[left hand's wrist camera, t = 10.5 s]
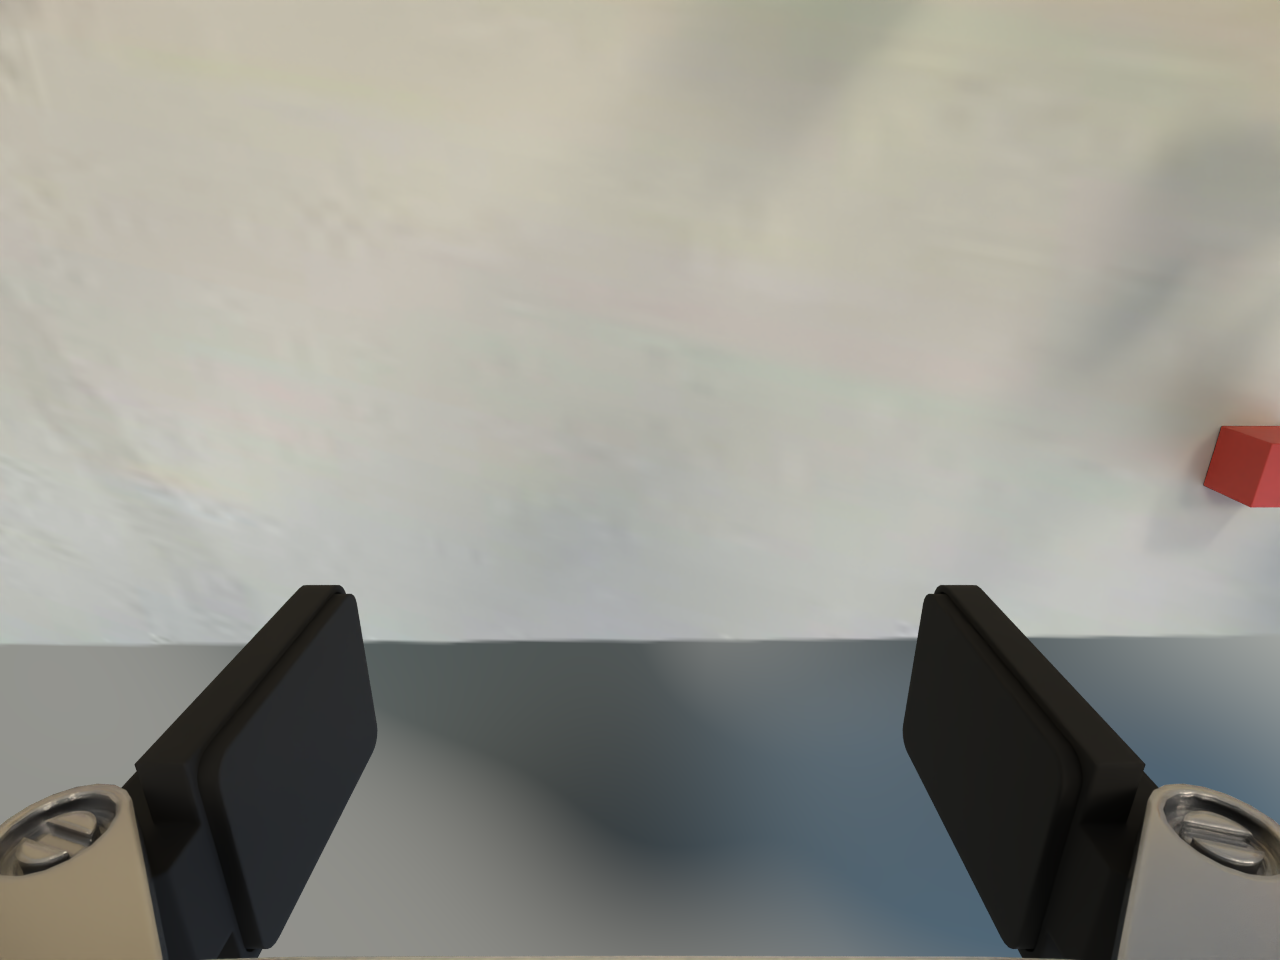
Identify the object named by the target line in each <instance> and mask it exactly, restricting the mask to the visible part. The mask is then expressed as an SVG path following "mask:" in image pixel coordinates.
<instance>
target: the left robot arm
mask: <svg viewBox="0 0 1280 960" xmlns="http://www.w3.org/2000/svg"><path fill="white" fill-rule="evenodd" d="M376 739H377V723H376V717H375V711H374V705H373V699H372V693H371V687H370V681H369V675H368V669H367V662H366V656H365V650H364V644H363V638H362V632H361V626H360V620H359V614H358V608H357V603H356V599H355V597H354V595H352V594H346V593H345V590H344V589H343V587H341V586H340V585H303V586H302V587H301V588H299V589H298V590H297V591H296V592H295V594H294V595H293V596H292V597H291V598H290V599H289V600H288V601H287V602H286V603H285V604H284V605H283V606H282V607H281V608H280V610H279V611H278V612H277V613H276V614H275V615H274V616H273V617H272V618H271V619H270V620H269V621H268V622H267V623H266V624H265V626H264V627H263V628H262V629H261V630H260V631H259V632H258V633H257V634H256V635H255V636H254V637H253V638H252V639H251V641H250V642H249V643H248V644H247V645H246V646H245V647H244V648H243V649H242V650H241V651H240V652H239V653H238V654H237V655H236V657H235V658H234V659H233V660H232V661H231V662H230V663H229V664H228V665H227V666H226V667H225V668H224V669H223V670H222V671H221V673H220V674H219V675H218V676H217V677H216V678H215V679H214V680H213V681H212V682H211V683H210V684H209V685H208V686H207V688H206V689H205V690H204V691H203V692H202V693H201V694H200V695H199V696H198V697H197V698H196V699H195V700H194V701H193V703H192V704H191V705H190V706H189V707H188V708H187V709H186V710H185V711H184V712H183V713H182V714H181V715H180V716H179V717H178V718H177V720H176V721H175V722H174V723H173V724H172V725H171V726H170V727H169V728H168V729H167V730H166V731H165V732H164V733H163V735H162V736H161V737H160V738H159V739H158V740H157V741H156V742H155V743H154V744H153V745H152V746H151V747H150V748H149V749H148V751H147V752H146V753H145V754H144V755H143V756H142V757H141V758H140V759H139V760H138V761H137V762H136V763H135V767H136V770H137V771H136V773H135V774H134V775H133V776H132V777H131V778H130V779H129V780H128V781H127V782H126V783H125V785H124V786H123V787H122V788H120V787H118V786H116V785H109V784H93V785H86V786H80V787H75V788H72V789H68V790H65V791H62V792H59V793H56V794H53V795H51V796H49V797H47V798H44V799H42V800H40V801H38V802H36V803H34V804H32V805H30V806H28V807H26V808H25V809H23V810H22V811H20V812H18V813H17V814H15V815H14V816H12V817H10V818H9V819H7V820H6V821H5V822H4V823H3V824H1V825H0V960H1280V825H1279V824H1277V823H1276V822H1275V821H1274V820H1273V819H1271V818H1270V817H1268V816H1266V815H1265V814H1263V813H1262V812H1260V811H1258V810H1257V809H1255V808H1254V807H1252V806H1251V805H1248V804H1246V803H1244V802H1242V801H1240V800H1238V799H1236V798H1233V797H1231V796H1229V795H1227V794H1224V793H1221V792H1218V791H1215V790H1212V789H1208V788H1205V787H1201V786H1194V785H1188V784H1171V785H1164V786H1162V787H1160V788H1158V787H1157V786H1156V784H1155V783H1154V782H1153V781H1152V780H1151V779H1150V778H1149V777H1148V776H1147V775H1146V774H1145V773H1144V771H1143V770H1144V767H1145V763H1144V762H1143V761H1142V760H1141V759H1140V758H1139V757H1138V756H1137V755H1136V754H1135V753H1134V752H1133V751H1132V749H1131V748H1130V747H1129V746H1128V745H1127V744H1126V743H1125V742H1124V741H1123V740H1122V739H1121V738H1120V737H1119V736H1118V735H1117V733H1116V732H1115V731H1114V730H1113V729H1112V728H1111V727H1110V726H1109V725H1108V724H1107V723H1106V722H1105V721H1104V720H1103V718H1102V717H1101V716H1100V715H1099V714H1098V713H1097V712H1096V711H1095V710H1094V709H1093V708H1092V707H1091V706H1090V705H1089V704H1088V702H1087V701H1086V700H1085V699H1084V698H1083V697H1082V696H1081V695H1080V694H1079V693H1078V692H1077V691H1076V690H1075V689H1074V688H1073V686H1072V685H1071V684H1070V683H1069V682H1068V681H1067V680H1066V679H1065V678H1064V677H1063V676H1062V675H1061V674H1060V673H1059V672H1058V670H1057V669H1056V668H1055V667H1054V666H1053V665H1052V664H1051V663H1050V662H1049V661H1048V660H1047V659H1046V658H1045V657H1044V656H1043V654H1042V653H1041V652H1040V651H1039V650H1038V649H1037V648H1036V647H1035V646H1034V645H1033V644H1032V643H1031V642H1030V641H1029V639H1028V638H1027V637H1026V636H1025V635H1024V634H1023V633H1022V632H1021V631H1020V630H1019V629H1018V628H1017V627H1016V626H1015V624H1014V623H1013V622H1012V621H1011V620H1010V619H1009V618H1008V617H1007V616H1006V615H1005V614H1004V613H1003V612H1002V611H1001V610H1000V608H999V607H998V606H997V605H996V604H995V603H994V602H993V601H992V600H991V599H990V598H989V597H988V596H987V595H986V594H985V592H984V591H983V590H982V589H981V588H979V587H978V586H977V585H940V586H939V587H937V589H936V590H935V593H934V594H928V595H926V597H925V599H924V603H923V608H922V614H921V620H920V626H919V632H918V638H917V644H916V650H915V656H914V663H913V669H912V675H911V681H910V687H909V693H908V699H907V705H906V711H905V717H904V723H903V739H904V744H905V748H906V750H907V753H908V755H909V757H910V758H911V761H912V763H913V764H914V766H915V768H916V770H917V772H918V774H919V776H920V778H921V780H922V782H923V784H924V786H925V788H926V790H927V792H928V794H929V796H930V798H931V800H932V802H933V804H934V806H935V808H936V810H937V812H938V814H939V816H940V818H941V820H942V822H943V824H944V826H945V828H946V830H947V832H948V833H949V836H950V837H951V839H952V841H953V843H954V845H955V847H956V849H957V851H958V853H959V855H960V857H961V859H962V861H963V863H964V865H965V867H966V869H967V871H968V873H969V875H970V877H971V879H972V881H973V883H974V885H975V887H976V889H977V891H978V893H979V895H980V897H981V899H982V901H983V903H984V905H985V907H986V909H987V911H988V912H989V914H990V916H991V918H992V920H993V922H994V924H995V926H996V928H997V930H998V932H999V934H1000V936H1001V938H1002V940H1003V941H1004V943H1005V944H1006V945H1007V946H1008V947H1009V948H1012V949H1018V950H1019V952H1020V954H1021V956H1022V958H1006V957H872V956H867V957H866V956H416V957H415V956H410V957H409V956H408V957H406V956H405V957H273V958H258V956H259V954H260V952H261V950H262V949H268V948H271V947H272V946H273V945H274V944H275V943H276V941H277V940H278V938H279V936H280V934H281V932H282V930H283V928H284V926H285V924H286V922H287V920H288V918H289V917H290V914H291V913H292V910H293V909H294V907H295V905H296V903H297V901H298V899H299V897H300V895H301V893H302V891H303V889H304V887H305V885H306V883H307V881H308V879H309V877H310V875H311V873H312V871H313V869H314V867H315V865H316V863H317V861H318V859H319V857H320V855H321V853H322V851H323V849H324V847H325V845H326V843H327V841H328V840H329V838H330V836H331V834H332V831H333V830H334V828H335V826H336V824H337V822H338V820H339V818H340V816H341V814H342V812H343V810H344V808H345V806H346V804H347V802H348V800H349V798H350V796H351V794H352V792H353V790H354V788H355V786H356V784H357V782H358V780H359V778H360V776H361V774H362V772H363V770H364V768H365V766H366V764H367V763H368V761H369V759H370V757H371V755H372V753H373V750H374V748H375V744H376Z"/></svg>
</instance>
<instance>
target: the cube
mask: <svg viewBox="0 0 1280 960" xmlns="http://www.w3.org/2000/svg"><path fill="white" fill-rule="evenodd" d="M1204 486H1206V487H1208V488H1210V489H1212V490H1214V491H1216V492H1219V493H1221V494H1223V495H1225V496H1227V497H1229V498H1232V499H1234V500H1236V501H1238V502H1240V503H1242V504H1245V505H1247V506H1249V507H1280V426H1222V427H1221V430H1220V433H1219V436H1218V440H1217V443H1216V446H1215V449H1214V453H1213V456H1212V459H1211V462H1210V466H1209V469H1208V472H1207V475H1206V479H1205V482H1204Z"/></svg>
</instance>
